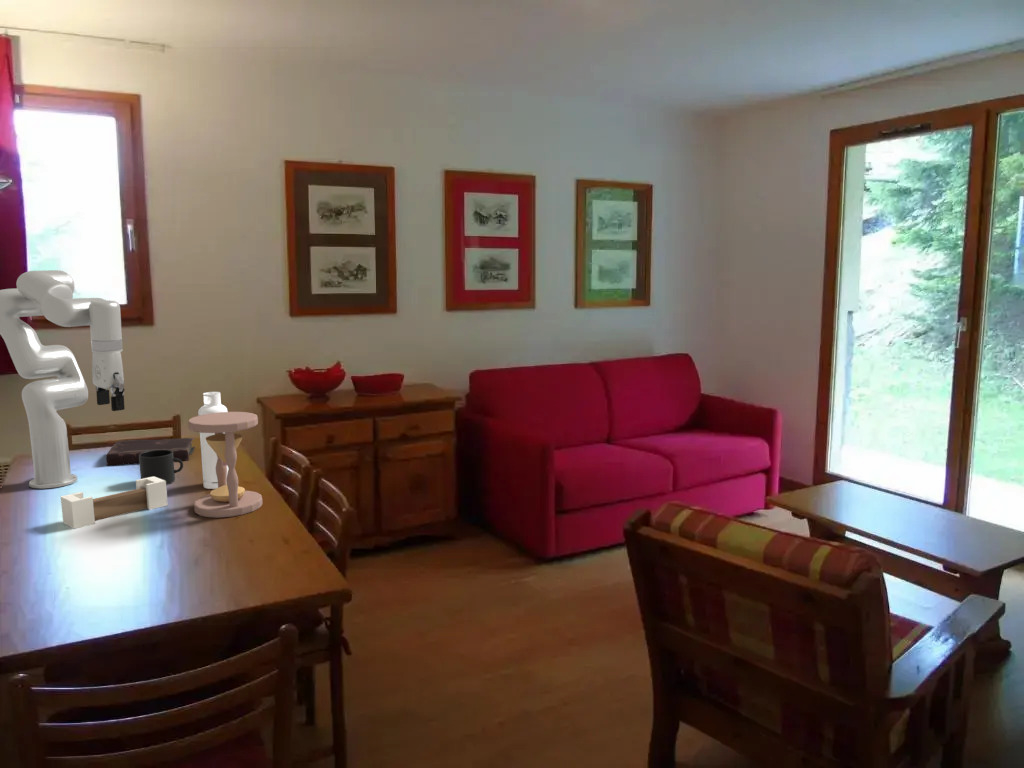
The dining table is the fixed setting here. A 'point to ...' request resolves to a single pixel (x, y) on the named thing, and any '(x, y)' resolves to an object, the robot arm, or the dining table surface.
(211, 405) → the bottle
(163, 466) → the mug
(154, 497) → the white u-channel cradle
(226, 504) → the hourglass
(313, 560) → the dining table surface
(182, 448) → the diary
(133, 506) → the rail
